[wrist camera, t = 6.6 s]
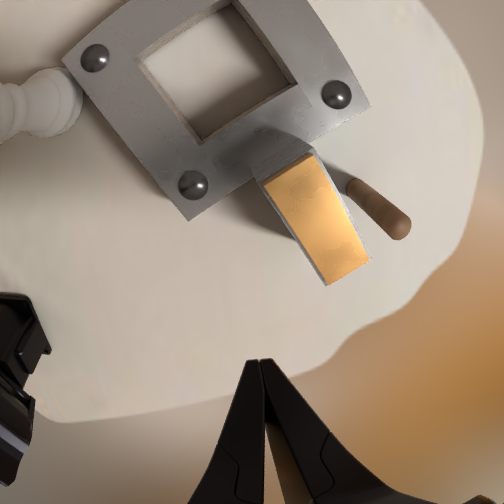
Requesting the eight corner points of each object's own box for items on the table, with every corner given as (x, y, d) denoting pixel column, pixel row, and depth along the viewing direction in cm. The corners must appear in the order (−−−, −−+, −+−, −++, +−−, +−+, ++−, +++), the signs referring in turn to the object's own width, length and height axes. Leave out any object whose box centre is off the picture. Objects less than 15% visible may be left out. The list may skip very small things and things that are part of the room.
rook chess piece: (23, 84, 14) (-61, 98, 7) (79, 55, 14) (0, 47, 7) (38, 145, 16) (-41, 184, 9) (93, 121, 16) (22, 148, 9)
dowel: (344, 198, 20) (385, 240, 15) (347, 177, 19) (391, 214, 14) (363, 199, 20) (407, 240, 15) (366, 179, 19) (414, 215, 14)
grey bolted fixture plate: (75, 61, 14) (32, 57, 9) (247, -53, 11) (257, -92, 7) (249, 279, 22) (257, 328, 18) (396, 189, 20) (437, 218, 15)
